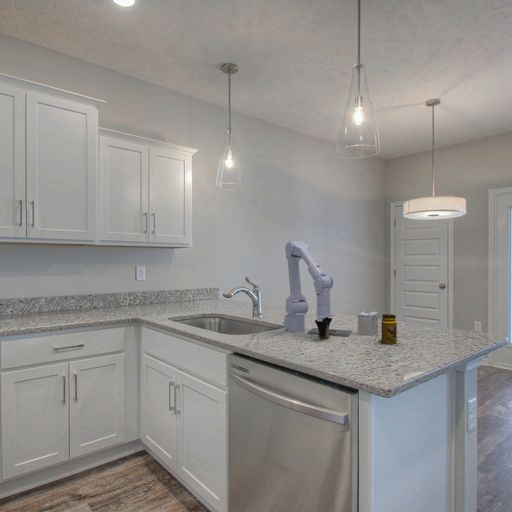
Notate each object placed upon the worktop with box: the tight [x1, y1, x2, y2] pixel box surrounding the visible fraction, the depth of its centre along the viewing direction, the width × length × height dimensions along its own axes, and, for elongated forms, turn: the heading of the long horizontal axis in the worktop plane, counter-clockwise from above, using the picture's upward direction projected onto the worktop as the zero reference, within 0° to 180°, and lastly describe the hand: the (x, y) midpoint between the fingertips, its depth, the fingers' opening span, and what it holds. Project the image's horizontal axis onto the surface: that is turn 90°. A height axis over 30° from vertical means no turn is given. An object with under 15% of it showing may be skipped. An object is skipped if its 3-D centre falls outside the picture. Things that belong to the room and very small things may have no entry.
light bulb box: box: [357, 311, 379, 337], centre depth 171 cm, size 11×7×11 cm, turn 149°
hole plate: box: [307, 327, 353, 338], centre depth 171 cm, size 18×10×3 cm, turn 66°
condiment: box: [375, 313, 400, 346], centre depth 157 cm, size 7×8×12 cm
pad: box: [310, 335, 338, 342], centre depth 160 cm, size 10×7×2 cm
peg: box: [318, 325, 330, 339], centre depth 160 cm, size 4×4×6 cm
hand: (323, 335), depth 160 cm, fingers closed on peg, 4 cm apart
